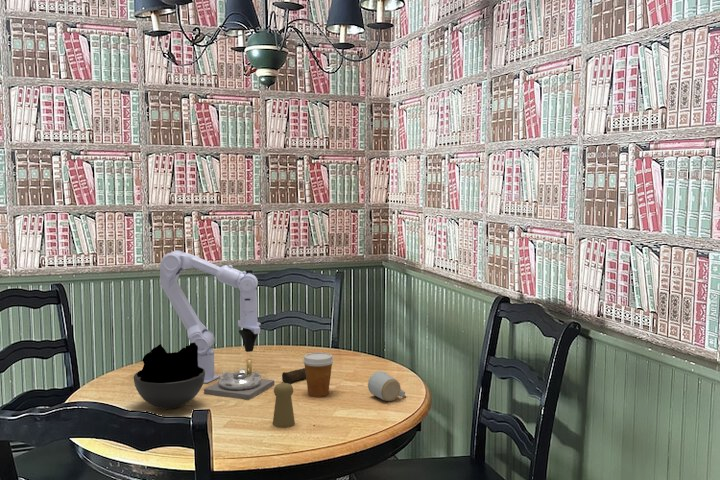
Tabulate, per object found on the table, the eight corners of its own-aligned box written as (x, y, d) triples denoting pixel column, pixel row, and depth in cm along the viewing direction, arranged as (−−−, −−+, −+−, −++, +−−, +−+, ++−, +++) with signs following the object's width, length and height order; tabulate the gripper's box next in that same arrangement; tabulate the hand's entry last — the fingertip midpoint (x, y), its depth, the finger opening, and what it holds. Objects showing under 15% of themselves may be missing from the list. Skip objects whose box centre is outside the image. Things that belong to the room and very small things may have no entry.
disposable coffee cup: (309, 400, 201) (309, 361, 200) (298, 391, 210) (298, 353, 209) (338, 396, 205) (338, 357, 204) (326, 387, 214) (326, 350, 213)
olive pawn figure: (273, 420, 184) (272, 381, 183) (295, 419, 185) (294, 380, 184) (272, 428, 178) (271, 387, 177) (294, 427, 179) (294, 387, 178)
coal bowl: (121, 417, 186) (119, 350, 185) (153, 394, 206) (151, 334, 204) (190, 420, 184) (188, 353, 182) (215, 397, 203) (214, 336, 202)
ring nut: (243, 392, 203) (243, 371, 202) (210, 386, 209) (209, 365, 208) (268, 381, 214) (268, 361, 214) (236, 375, 220) (236, 356, 220)
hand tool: (288, 385, 217) (288, 371, 216) (281, 382, 220) (281, 369, 219) (333, 374, 229) (333, 361, 229) (325, 372, 232) (325, 359, 232)
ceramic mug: (382, 404, 198) (382, 379, 197) (367, 396, 205) (367, 372, 204) (410, 399, 203) (411, 374, 203) (395, 391, 210) (396, 367, 210)
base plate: (204, 393, 207) (203, 388, 207) (231, 379, 222) (231, 374, 222) (249, 399, 201) (249, 394, 201) (274, 384, 216) (274, 379, 216)
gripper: (268, 313, 217) (269, 354, 218) (251, 306, 229) (251, 345, 231) (248, 315, 213) (249, 357, 215) (231, 308, 226) (232, 347, 227)
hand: (249, 351), depth 222 cm, fingers closed
